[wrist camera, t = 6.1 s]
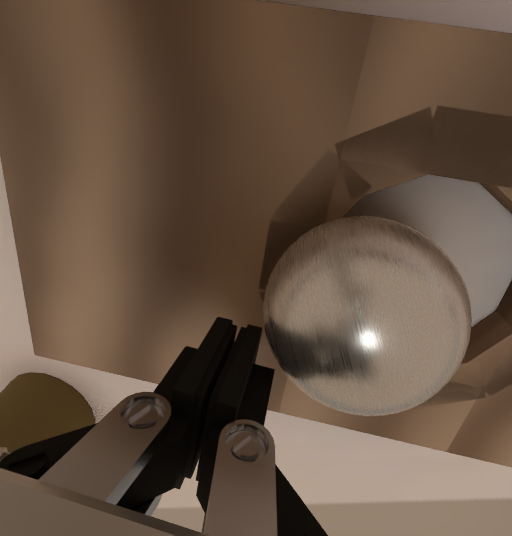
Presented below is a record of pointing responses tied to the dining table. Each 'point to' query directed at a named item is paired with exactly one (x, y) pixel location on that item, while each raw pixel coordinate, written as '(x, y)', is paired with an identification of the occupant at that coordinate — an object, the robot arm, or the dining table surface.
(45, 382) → the cork
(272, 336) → the ball
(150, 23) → the board
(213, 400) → the robot arm
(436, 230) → the dining table surface
